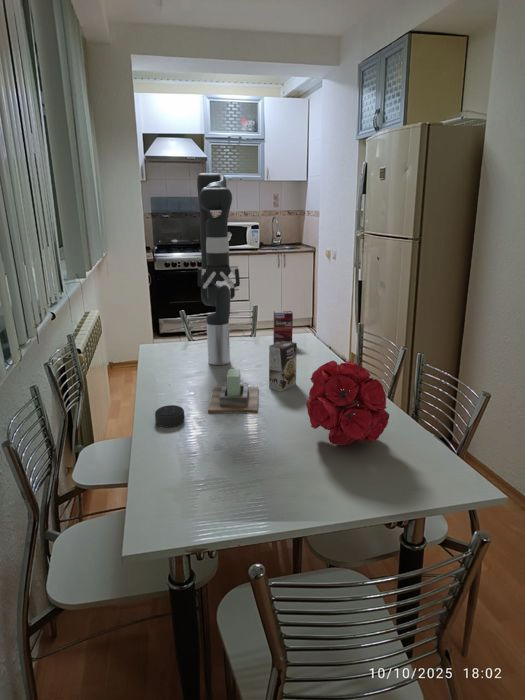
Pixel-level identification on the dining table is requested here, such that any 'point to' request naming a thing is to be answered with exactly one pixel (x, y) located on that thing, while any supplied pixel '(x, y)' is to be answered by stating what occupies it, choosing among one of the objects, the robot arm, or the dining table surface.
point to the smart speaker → (169, 416)
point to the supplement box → (283, 326)
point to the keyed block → (233, 382)
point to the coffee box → (282, 365)
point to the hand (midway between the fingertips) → (219, 298)
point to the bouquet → (347, 403)
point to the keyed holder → (234, 400)
